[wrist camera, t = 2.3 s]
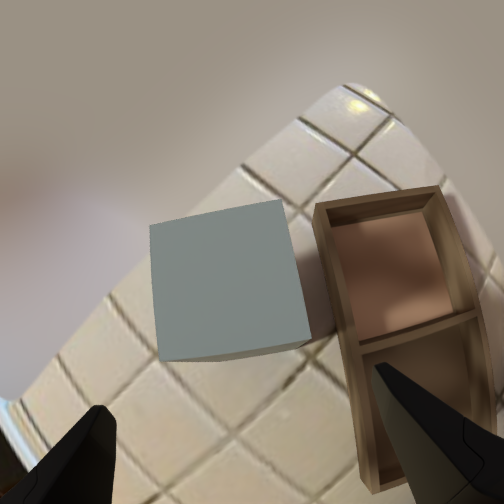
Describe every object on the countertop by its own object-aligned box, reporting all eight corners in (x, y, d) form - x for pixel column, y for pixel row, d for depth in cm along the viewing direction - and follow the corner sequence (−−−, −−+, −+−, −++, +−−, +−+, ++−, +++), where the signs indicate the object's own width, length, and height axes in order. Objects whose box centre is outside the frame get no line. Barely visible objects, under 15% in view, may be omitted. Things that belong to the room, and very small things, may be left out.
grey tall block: (295, 349, 19) (311, 338, 9) (218, 361, 19) (159, 361, 9) (281, 274, 20) (281, 199, 11) (208, 287, 20) (149, 225, 11)
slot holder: (474, 431, 15) (496, 436, 12) (360, 478, 15) (372, 494, 12) (423, 204, 21) (438, 185, 18) (311, 223, 21) (315, 203, 19)
